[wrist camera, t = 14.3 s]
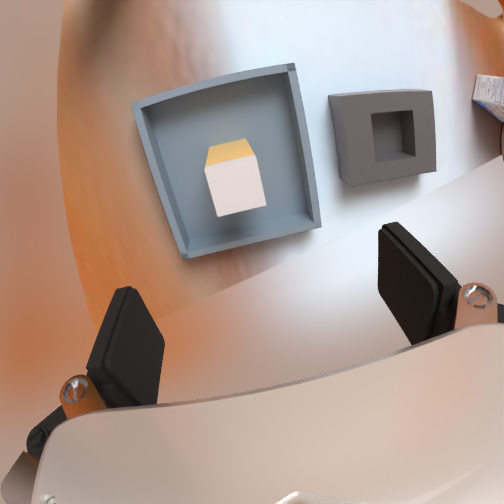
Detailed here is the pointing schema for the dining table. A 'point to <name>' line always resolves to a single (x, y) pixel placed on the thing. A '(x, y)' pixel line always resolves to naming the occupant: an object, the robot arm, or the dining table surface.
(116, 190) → the dining table surface
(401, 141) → the block
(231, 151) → the block
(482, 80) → the medicine box
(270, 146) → the parts tray
